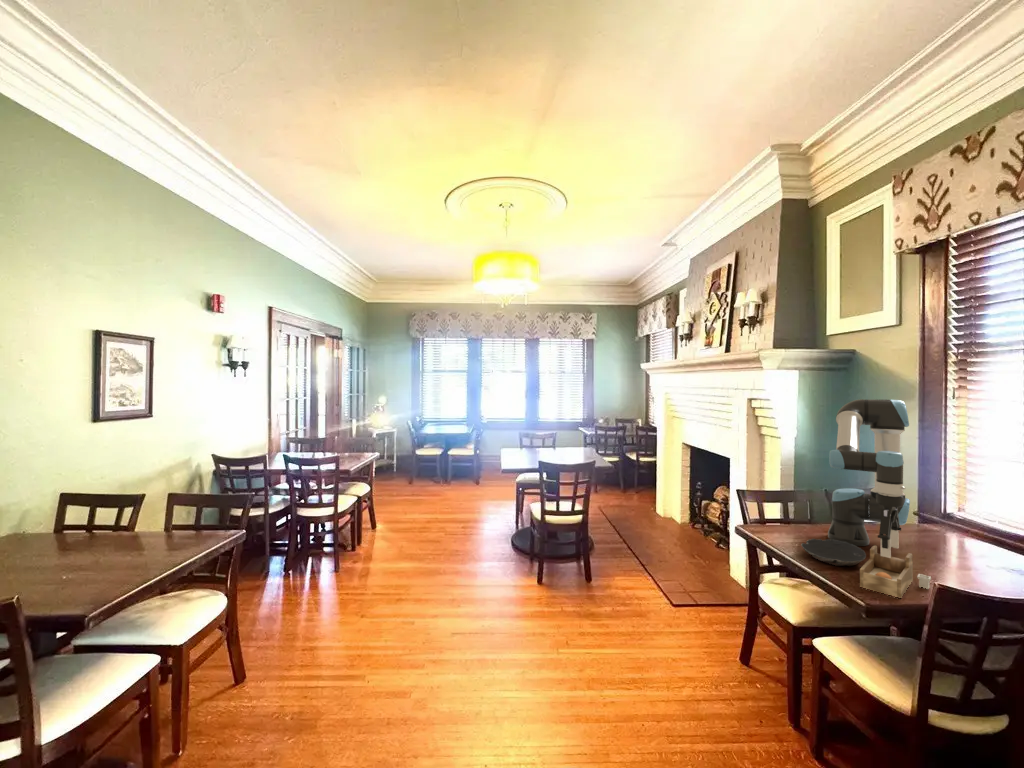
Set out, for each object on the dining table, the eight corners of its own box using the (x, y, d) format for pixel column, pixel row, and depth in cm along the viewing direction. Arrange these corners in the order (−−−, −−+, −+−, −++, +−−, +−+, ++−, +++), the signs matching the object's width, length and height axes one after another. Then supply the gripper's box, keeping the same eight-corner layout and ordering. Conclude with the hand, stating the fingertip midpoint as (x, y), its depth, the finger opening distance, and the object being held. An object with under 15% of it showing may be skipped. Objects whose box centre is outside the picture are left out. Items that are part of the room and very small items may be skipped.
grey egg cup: (917, 586, 155) (917, 576, 155) (918, 584, 157) (918, 573, 157) (929, 590, 152) (929, 579, 152) (931, 587, 154) (931, 576, 154)
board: (882, 566, 172) (881, 553, 172) (840, 576, 166) (840, 563, 166) (827, 546, 193) (826, 535, 193) (788, 554, 187) (788, 543, 187)
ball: (872, 575, 154) (875, 567, 157) (873, 587, 155) (876, 579, 158) (890, 580, 150) (893, 572, 153) (891, 592, 151) (894, 584, 154)
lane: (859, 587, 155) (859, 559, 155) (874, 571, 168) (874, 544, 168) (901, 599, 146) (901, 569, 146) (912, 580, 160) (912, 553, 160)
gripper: (895, 502, 150) (896, 564, 150) (909, 490, 165) (909, 546, 165) (868, 497, 155) (868, 557, 155) (884, 486, 171) (884, 541, 171)
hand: (889, 552), depth 160 cm, fingers open, 13 cm apart
